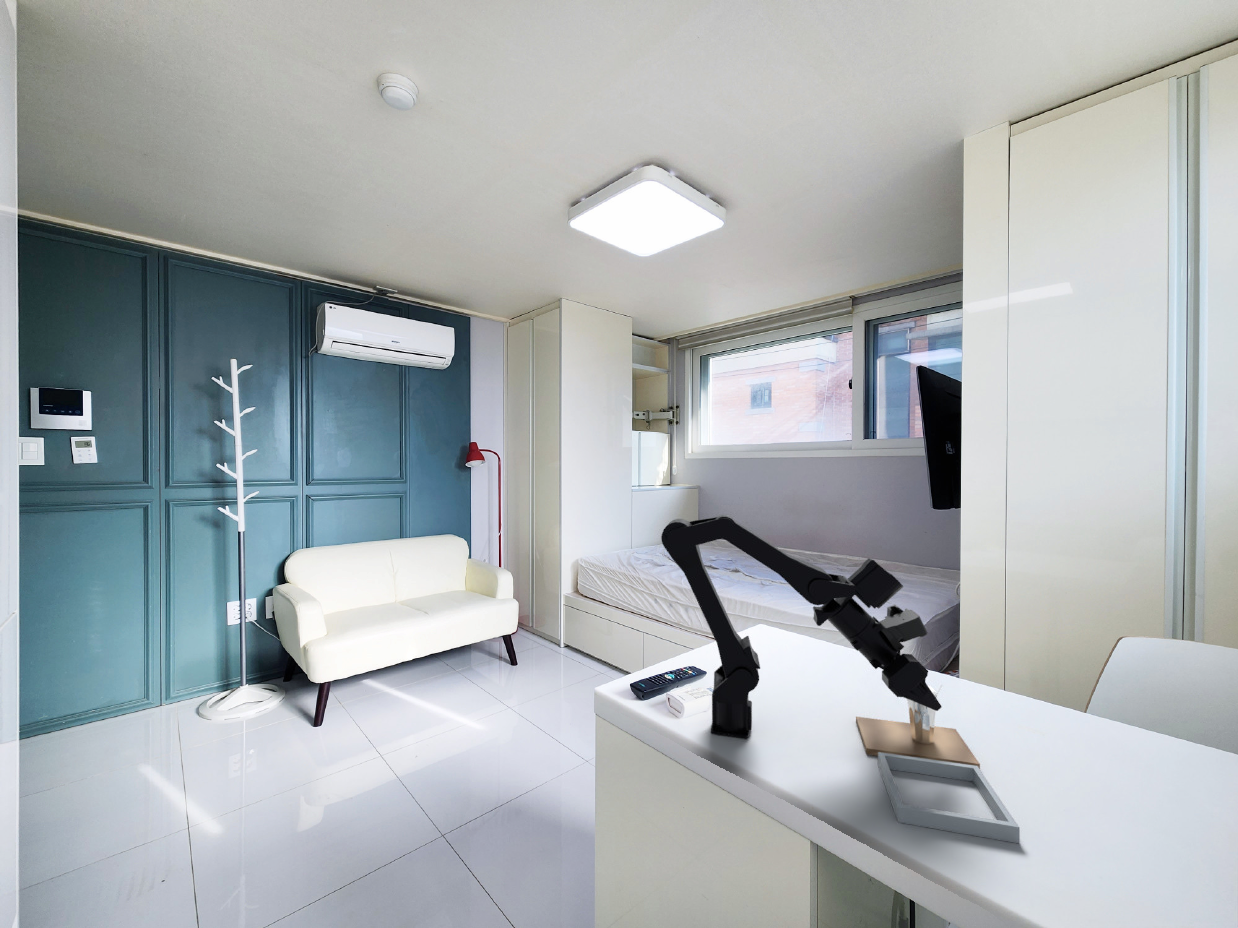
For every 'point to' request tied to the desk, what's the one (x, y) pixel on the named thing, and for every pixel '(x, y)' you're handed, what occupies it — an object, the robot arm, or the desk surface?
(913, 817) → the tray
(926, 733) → the milkshake
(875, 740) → the board
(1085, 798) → the desk surface
